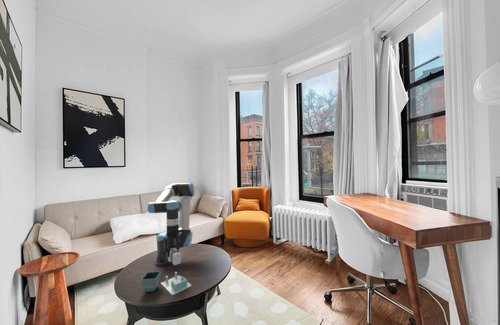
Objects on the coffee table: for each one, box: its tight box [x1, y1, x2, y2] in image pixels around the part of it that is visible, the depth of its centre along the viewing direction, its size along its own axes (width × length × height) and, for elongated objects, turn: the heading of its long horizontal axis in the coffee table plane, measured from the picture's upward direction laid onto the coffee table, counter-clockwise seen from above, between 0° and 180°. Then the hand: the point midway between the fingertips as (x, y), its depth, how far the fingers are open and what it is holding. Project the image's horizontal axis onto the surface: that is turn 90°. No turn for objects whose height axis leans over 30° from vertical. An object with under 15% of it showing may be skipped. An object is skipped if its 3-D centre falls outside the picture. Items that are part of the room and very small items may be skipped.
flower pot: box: [140, 271, 162, 293], centre depth 131 cm, size 9×9×9 cm
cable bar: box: [166, 248, 182, 266], centre depth 137 cm, size 14×4×6 cm, turn 45°
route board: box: [160, 271, 193, 296], centre depth 135 cm, size 17×13×4 cm
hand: (172, 260), depth 137 cm, fingers closed on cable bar, 3 cm apart
